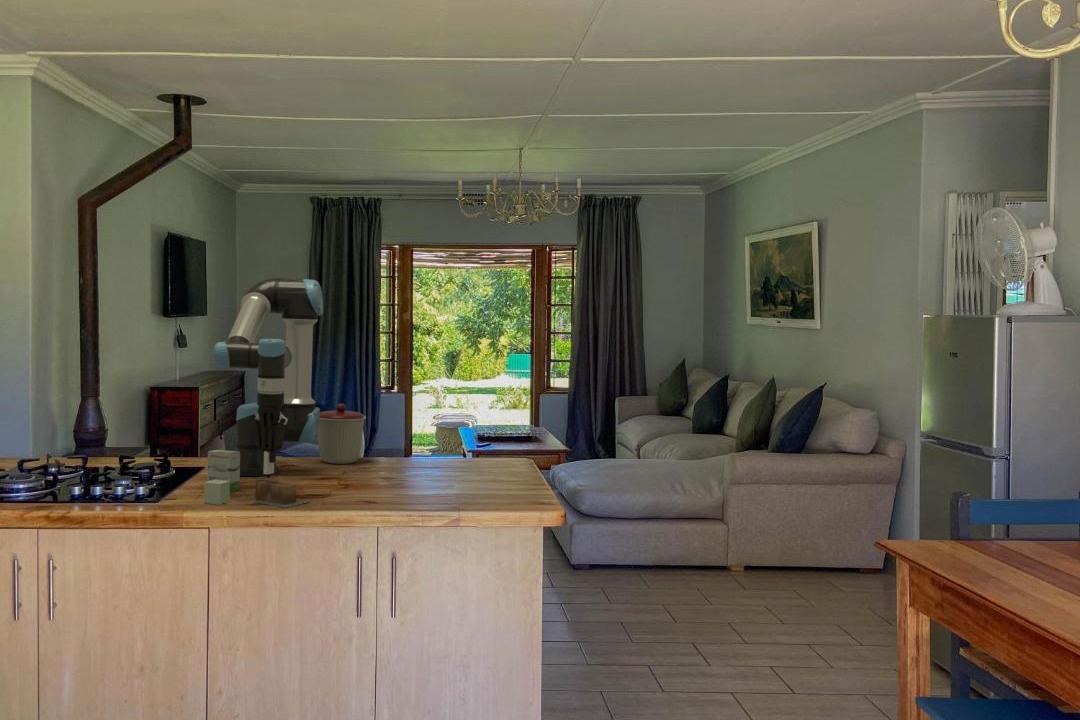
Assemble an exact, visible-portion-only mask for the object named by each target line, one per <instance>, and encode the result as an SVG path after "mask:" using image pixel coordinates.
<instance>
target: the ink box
mask: <svg viewBox="0 0 1080 720" xmlns="http://www.w3.org/2000/svg"><path fill="white" fill-rule="evenodd" d="M240 479H241V475H240V452H237V451H235V450H225V449H214V450H209V451H207V481H206V482H208V481H211V480H224V481H230V493H232V492H236V491H238V490H241V489H240V488H241V487H240V485H241V483H240V482H241V481H240Z"/></svg>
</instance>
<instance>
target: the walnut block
mask: <svg viewBox="0 0 1080 720" xmlns="http://www.w3.org/2000/svg"><path fill="white" fill-rule="evenodd" d="M297 486H298V485H297V484H294V483H288V482H283V481H276V480H270V479H267V480H263V481H256V482H255V495H254V496H255V500H254V501H258V500H261V501H266V502H272V503H278V504H284V505H285V504H289V503H294V502H296V500H297V493H298V492H297V491H298V490H297V489H298V487H297Z"/></svg>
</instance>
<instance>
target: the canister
mask: <svg viewBox="0 0 1080 720" xmlns="http://www.w3.org/2000/svg"><path fill="white" fill-rule="evenodd" d="M346 408H347V406H346V404H344V403H337V404H336V405H335V410H326V411H320V419H319V425H318V430H317V443H318V444H317V445H318V450H319V451H318V452H319V457H320V459H321V461H323V462H324V463H327V464H333V465H344V464H345V465H346V464H348V465H349V464H352V463H355V462H357V460H358V459H359V456H360V451H361V445H362V438H363V433H364V424H365V420H366V419H367V417H366V415H364V414H363V413H362V412H358V411H354V410H353V411H352V410H346Z"/></svg>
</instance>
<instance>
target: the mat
mask: <svg viewBox="0 0 1080 720" xmlns="http://www.w3.org/2000/svg"><path fill="white" fill-rule="evenodd" d="M304 502H305V503H306V502H307V500H300V499H296V502H294V503H289V504H285V505H284V504H278V503H272V502H266V501H261V500H254V501H252V503H254V504H258V503H261V504H260V505H263V504H267V505H266V506H269V505H272V506H271V507H275V506H277V507H276V508H280V507H283V508H282V509H287V508H286V507H288V508H290V507H289V506H293V507H295V506H294V505H297V504H300V503H301V505H303V504H302V503H304ZM306 504H307V503H306ZM297 506H298V505H297Z"/></svg>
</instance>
